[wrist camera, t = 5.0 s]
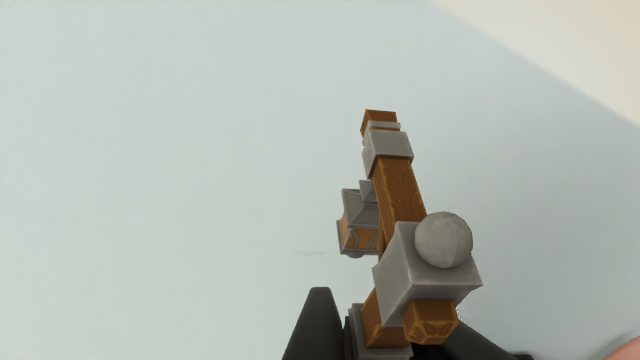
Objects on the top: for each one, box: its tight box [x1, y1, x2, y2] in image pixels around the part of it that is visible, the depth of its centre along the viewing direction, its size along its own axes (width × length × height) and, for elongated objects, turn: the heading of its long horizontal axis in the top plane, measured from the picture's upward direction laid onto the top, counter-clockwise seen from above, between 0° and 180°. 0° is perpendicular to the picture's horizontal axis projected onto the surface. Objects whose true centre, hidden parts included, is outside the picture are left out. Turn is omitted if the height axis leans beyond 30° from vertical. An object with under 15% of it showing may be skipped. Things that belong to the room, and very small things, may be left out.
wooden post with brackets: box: [336, 109, 483, 360], centre depth 8 cm, size 2×8×4 cm, turn 174°
